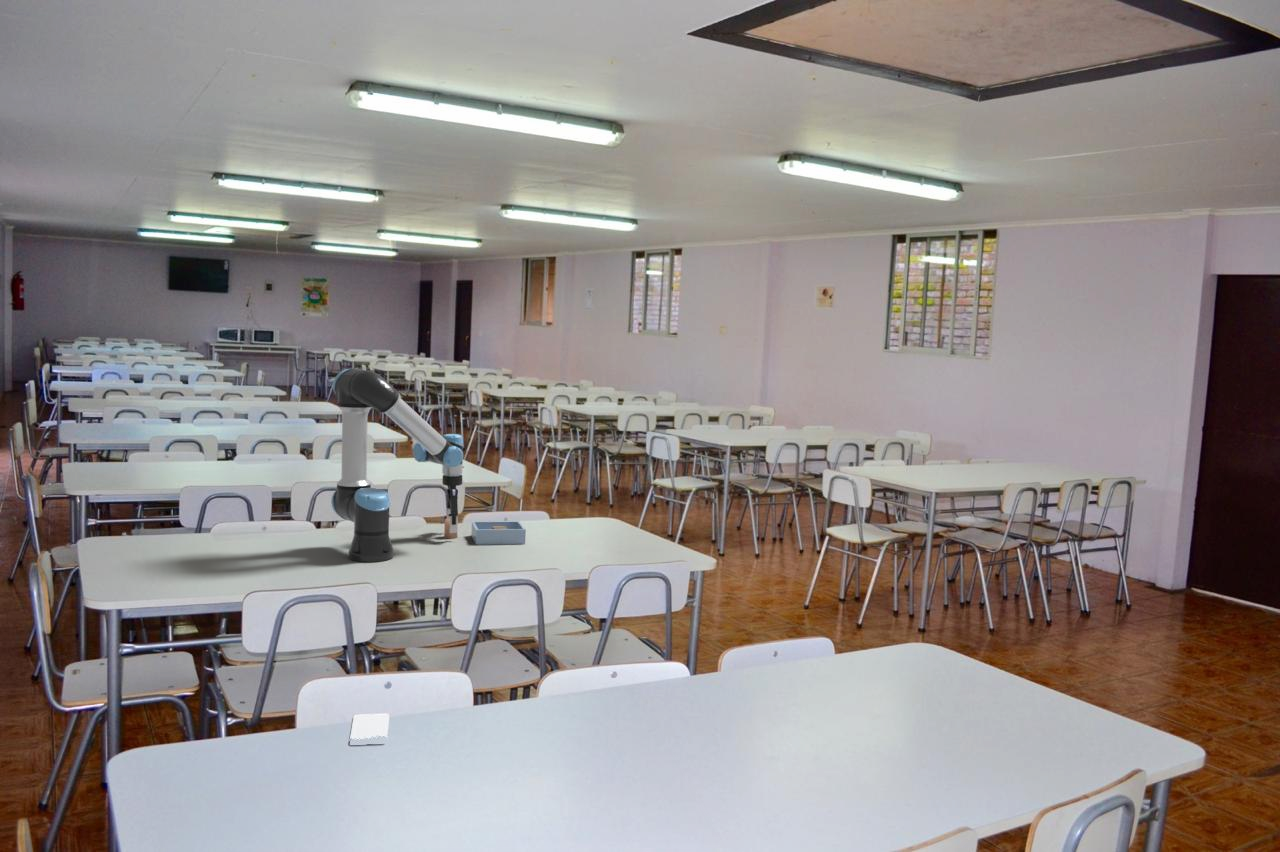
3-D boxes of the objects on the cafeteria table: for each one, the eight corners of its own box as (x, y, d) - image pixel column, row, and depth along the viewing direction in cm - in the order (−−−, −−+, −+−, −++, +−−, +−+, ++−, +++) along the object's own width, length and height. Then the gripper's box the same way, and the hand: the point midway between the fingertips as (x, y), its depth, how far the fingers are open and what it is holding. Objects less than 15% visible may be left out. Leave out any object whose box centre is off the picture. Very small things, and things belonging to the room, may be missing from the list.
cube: (492, 539, 380) (492, 526, 379) (505, 538, 381) (505, 526, 380) (493, 542, 375) (494, 529, 374) (507, 541, 376) (507, 528, 376)
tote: (475, 544, 372) (476, 530, 371) (471, 535, 387) (471, 521, 386) (525, 543, 377) (525, 529, 376) (518, 535, 392) (519, 521, 391)
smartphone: (348, 745, 194) (353, 714, 208) (348, 748, 194) (353, 717, 208) (387, 743, 195) (389, 713, 210) (386, 747, 195) (389, 716, 210)
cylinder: (444, 539, 379) (445, 520, 378) (443, 536, 384) (444, 518, 383) (458, 538, 380) (458, 520, 380) (456, 535, 385) (457, 518, 384)
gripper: (465, 479, 369) (465, 535, 371) (459, 469, 393) (458, 521, 395) (445, 480, 367) (444, 536, 369) (440, 469, 390) (439, 522, 393)
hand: (451, 528), depth 382 cm, fingers open, 13 cm apart
